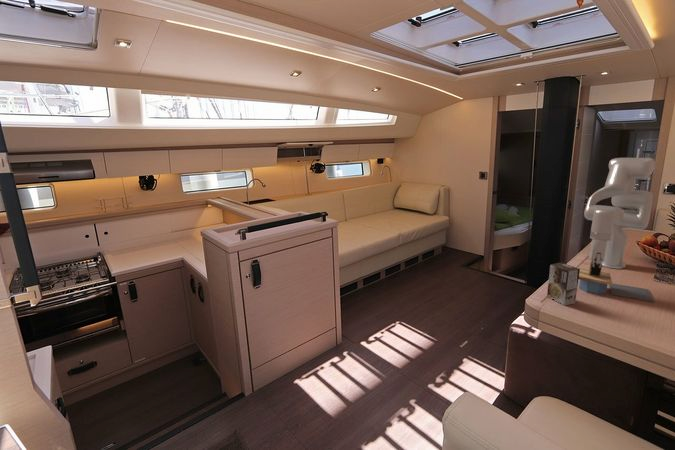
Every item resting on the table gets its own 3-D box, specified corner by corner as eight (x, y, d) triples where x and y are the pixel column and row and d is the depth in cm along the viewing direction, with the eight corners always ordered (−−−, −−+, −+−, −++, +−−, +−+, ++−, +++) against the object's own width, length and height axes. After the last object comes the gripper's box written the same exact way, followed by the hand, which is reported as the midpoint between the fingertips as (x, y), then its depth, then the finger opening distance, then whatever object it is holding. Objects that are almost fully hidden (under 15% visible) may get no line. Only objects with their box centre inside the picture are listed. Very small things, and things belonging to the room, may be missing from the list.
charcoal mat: (608, 283, 159) (609, 282, 159) (647, 290, 151) (647, 289, 151) (611, 294, 148) (611, 293, 148) (653, 302, 140) (653, 301, 140)
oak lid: (577, 270, 161) (579, 257, 159) (609, 275, 154) (611, 261, 152) (578, 279, 151) (580, 264, 149) (611, 284, 144) (614, 269, 143)
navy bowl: (578, 283, 161) (580, 271, 159) (604, 287, 155) (606, 275, 154) (579, 290, 153) (580, 279, 151) (606, 295, 147) (608, 283, 146)
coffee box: (575, 303, 141) (581, 268, 138) (564, 306, 140) (569, 271, 136) (556, 294, 150) (561, 261, 146) (545, 296, 148) (550, 263, 144)
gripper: (589, 230, 156) (584, 265, 161) (591, 239, 143) (585, 277, 147) (609, 232, 152) (603, 268, 157) (613, 241, 139) (606, 281, 143)
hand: (594, 272), depth 152 cm, fingers open, 5 cm apart
